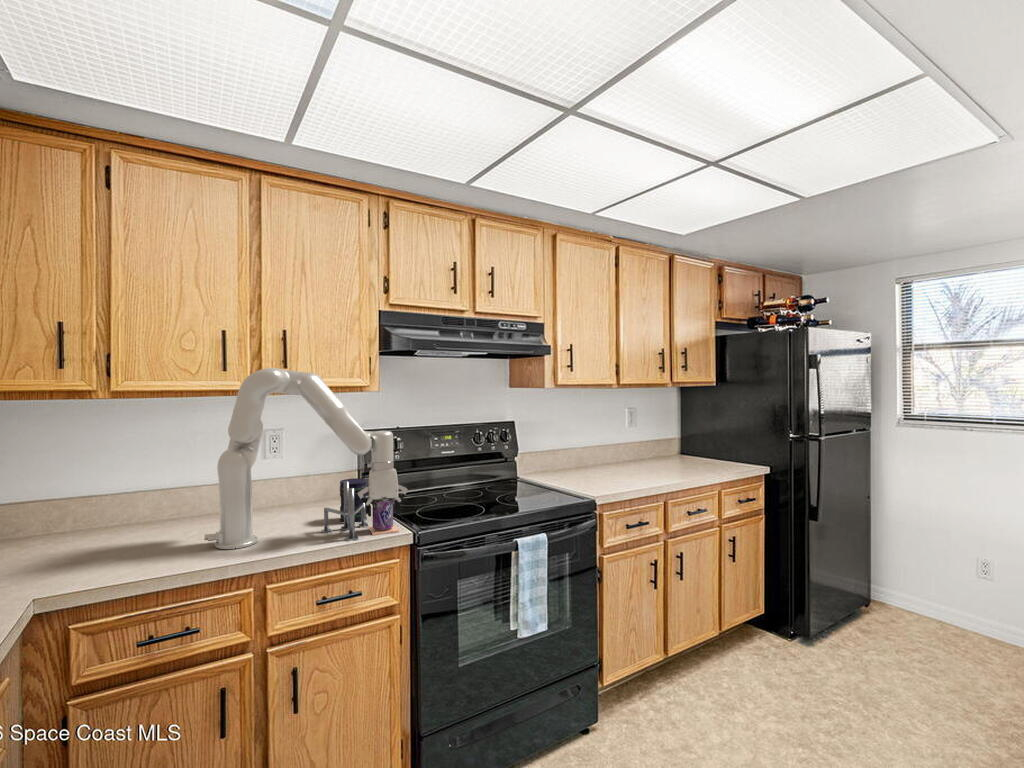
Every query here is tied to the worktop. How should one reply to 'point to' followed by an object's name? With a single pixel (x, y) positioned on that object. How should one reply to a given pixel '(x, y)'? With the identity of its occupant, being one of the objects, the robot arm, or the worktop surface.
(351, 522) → the grey open angular frame
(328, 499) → the worktop surface
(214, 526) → the worktop surface
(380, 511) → the beverage can
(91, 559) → the worktop surface
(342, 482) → the dark purple cylinder
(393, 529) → the plate
